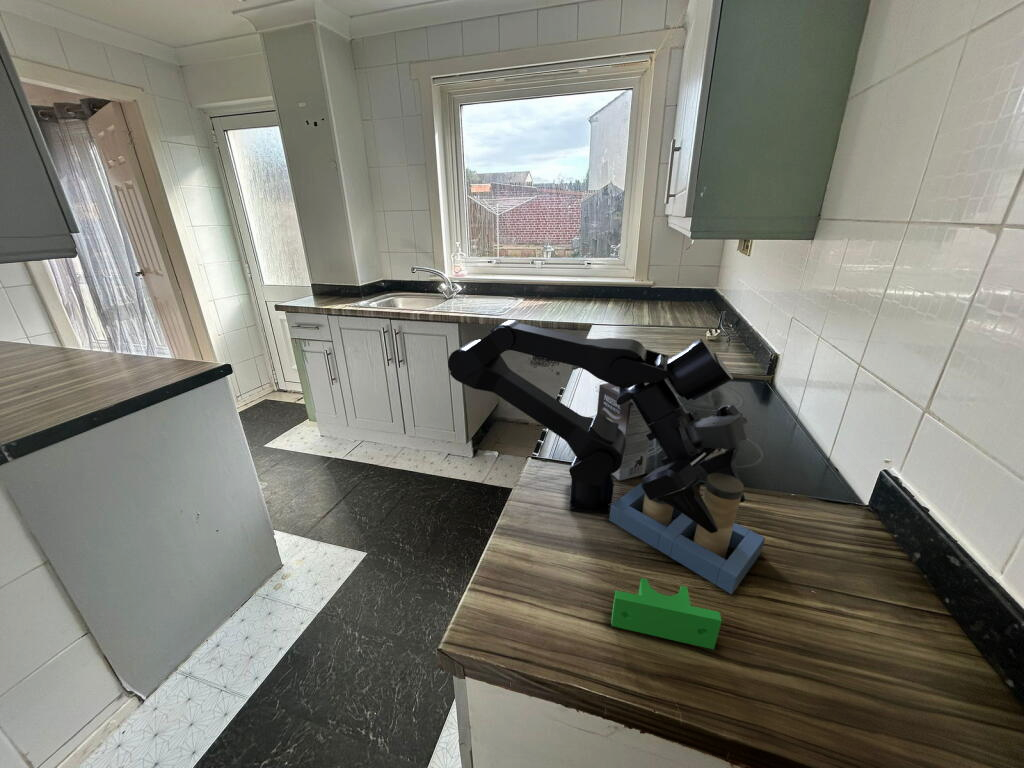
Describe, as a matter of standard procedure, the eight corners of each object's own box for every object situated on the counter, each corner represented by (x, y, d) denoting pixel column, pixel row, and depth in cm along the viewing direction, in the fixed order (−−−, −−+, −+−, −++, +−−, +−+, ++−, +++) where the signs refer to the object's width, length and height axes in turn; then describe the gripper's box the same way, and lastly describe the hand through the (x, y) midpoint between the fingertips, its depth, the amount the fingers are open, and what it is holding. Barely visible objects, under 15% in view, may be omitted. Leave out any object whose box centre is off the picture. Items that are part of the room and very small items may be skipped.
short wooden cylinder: (642, 530, 62) (648, 498, 60) (638, 511, 66) (643, 480, 64) (673, 533, 62) (679, 501, 59) (667, 514, 66) (672, 483, 64)
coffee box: (591, 457, 82) (597, 383, 76) (617, 451, 84) (625, 379, 78) (619, 482, 74) (628, 402, 68) (646, 474, 76) (658, 396, 70)
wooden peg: (696, 561, 56) (712, 490, 52) (688, 538, 61) (702, 471, 56) (730, 565, 56) (749, 494, 51) (720, 542, 60) (736, 474, 56)
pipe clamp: (707, 620, 48) (715, 592, 46) (713, 650, 45) (722, 621, 43) (611, 599, 51) (615, 571, 49) (610, 626, 47) (615, 597, 46)
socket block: (608, 520, 64) (610, 504, 63) (643, 493, 71) (645, 479, 70) (731, 594, 51) (736, 577, 50) (760, 553, 58) (765, 537, 57)
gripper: (677, 411, 46) (760, 538, 43) (740, 374, 58) (809, 472, 54) (613, 445, 55) (678, 554, 51) (679, 407, 66) (735, 493, 63)
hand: (729, 516), depth 55 cm, fingers open, 9 cm apart
